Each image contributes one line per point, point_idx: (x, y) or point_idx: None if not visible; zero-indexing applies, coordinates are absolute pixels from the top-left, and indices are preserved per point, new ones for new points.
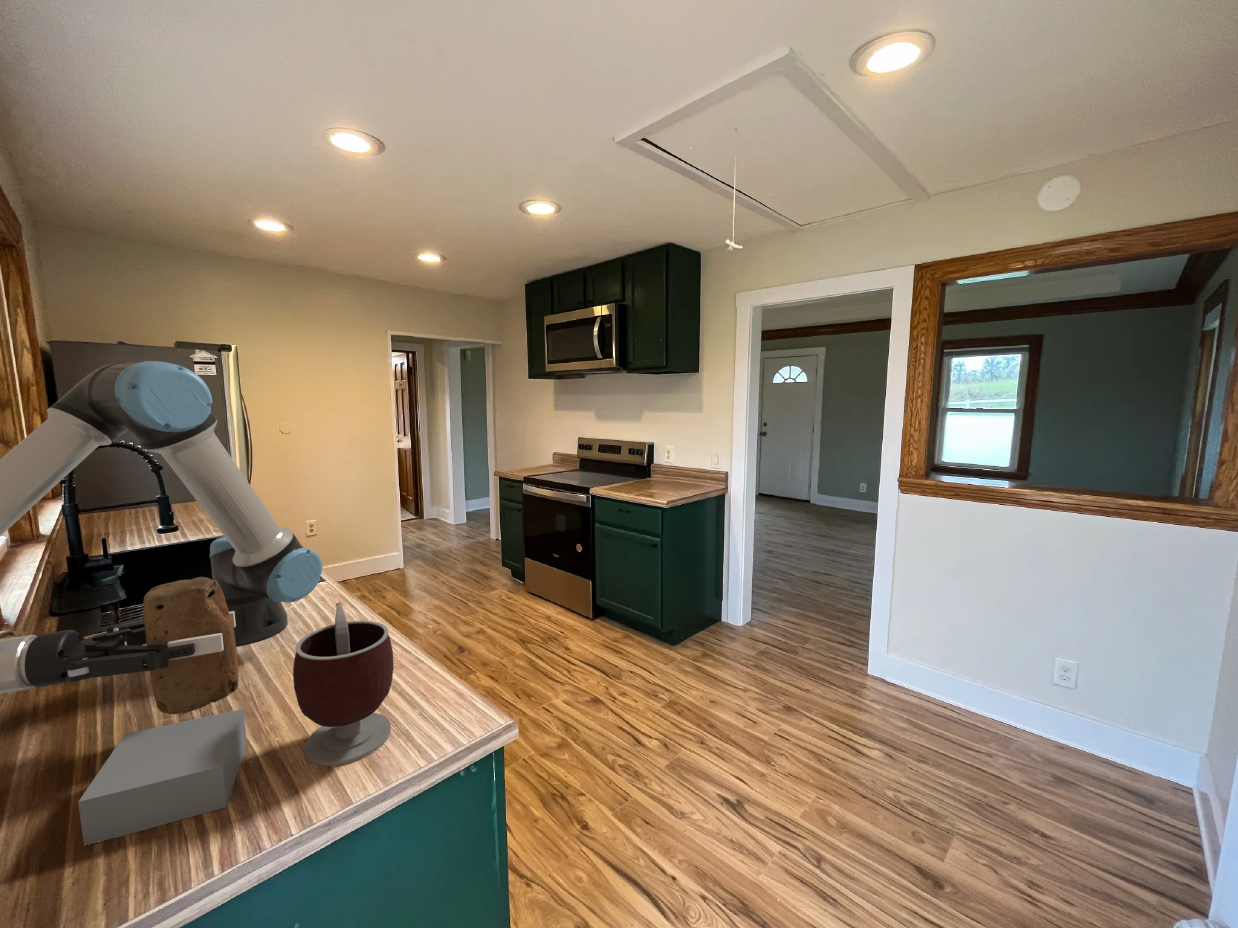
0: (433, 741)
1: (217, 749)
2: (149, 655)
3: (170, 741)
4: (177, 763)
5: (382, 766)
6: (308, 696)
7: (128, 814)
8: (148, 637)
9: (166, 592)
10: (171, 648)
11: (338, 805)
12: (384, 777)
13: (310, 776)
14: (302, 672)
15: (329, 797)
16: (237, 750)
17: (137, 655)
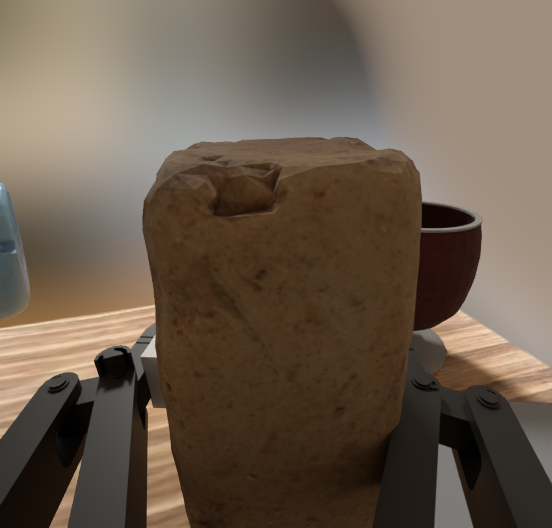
0: None
1: (524, 417)
2: (504, 401)
3: None
4: None
5: (448, 324)
6: (472, 280)
7: None
8: (403, 391)
9: (362, 151)
10: (409, 367)
11: (516, 351)
12: (466, 323)
13: (465, 372)
14: (473, 251)
15: (504, 357)
16: None
17: (518, 442)
